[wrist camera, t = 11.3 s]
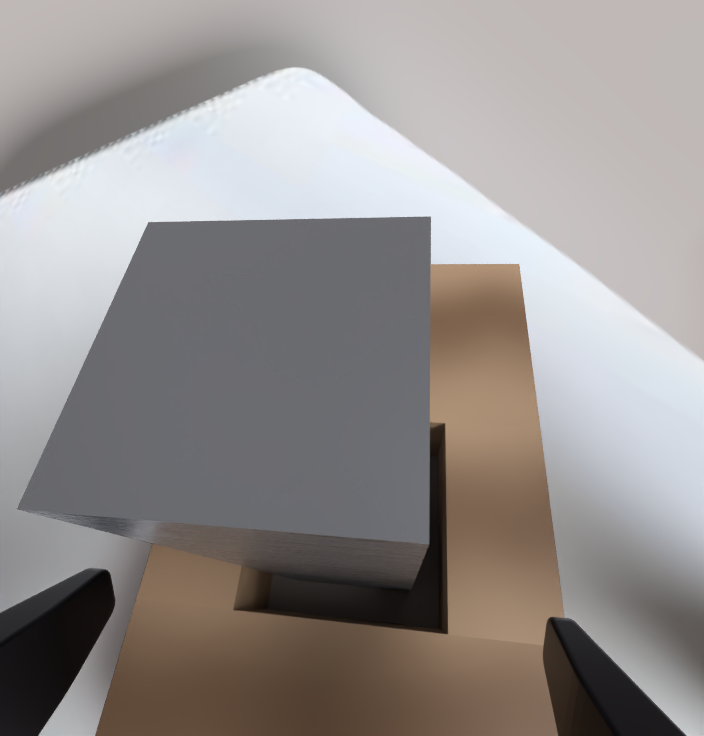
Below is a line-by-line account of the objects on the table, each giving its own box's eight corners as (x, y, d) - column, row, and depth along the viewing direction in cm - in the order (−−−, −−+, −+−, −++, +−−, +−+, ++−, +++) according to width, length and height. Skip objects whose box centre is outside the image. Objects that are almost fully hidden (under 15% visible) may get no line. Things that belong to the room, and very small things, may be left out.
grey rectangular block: (410, 592, 15) (429, 543, 4) (299, 580, 15) (16, 509, 4) (412, 478, 17) (430, 216, 6) (314, 471, 17) (148, 222, 6)
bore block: (547, 848, 12) (607, 948, 8) (151, 778, 14) (64, 837, 10) (499, 321, 21) (519, 263, 17) (261, 318, 22) (235, 265, 19)
